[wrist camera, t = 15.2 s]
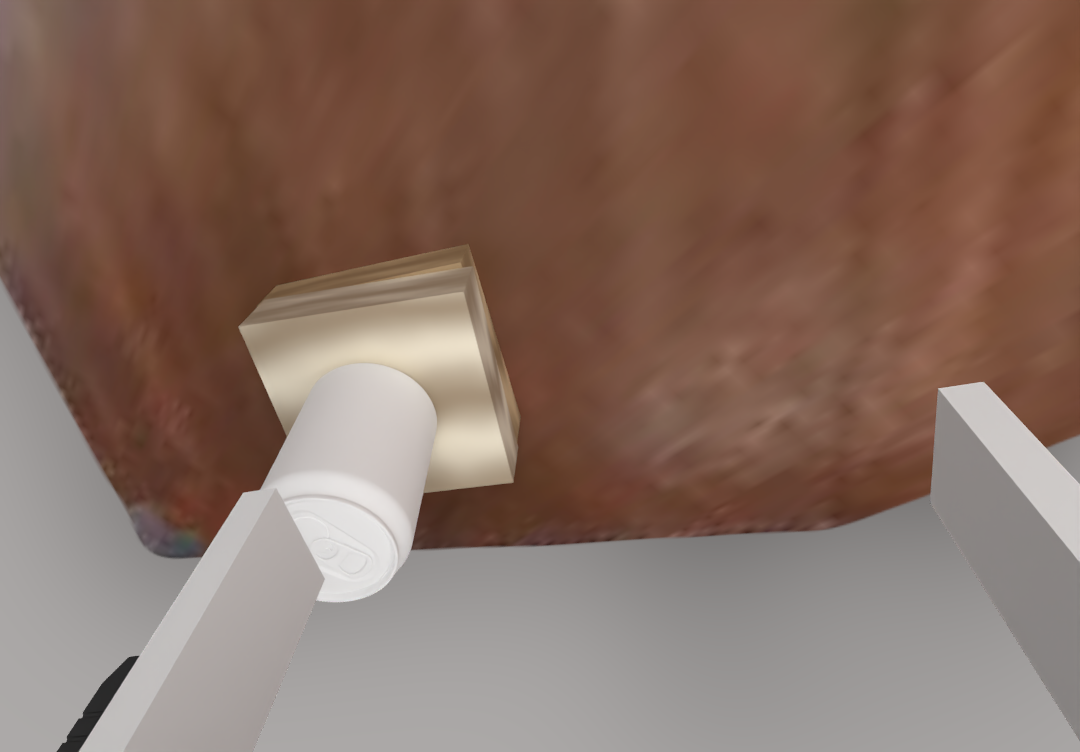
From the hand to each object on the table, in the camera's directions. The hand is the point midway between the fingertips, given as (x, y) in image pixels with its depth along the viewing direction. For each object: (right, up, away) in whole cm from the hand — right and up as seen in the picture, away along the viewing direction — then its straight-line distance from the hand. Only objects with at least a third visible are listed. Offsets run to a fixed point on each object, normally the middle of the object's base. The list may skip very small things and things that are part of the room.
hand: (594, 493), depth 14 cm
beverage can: (-12, 0, +30) cm, 32 cm away
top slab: (-11, +2, +34) cm, 35 cm away
